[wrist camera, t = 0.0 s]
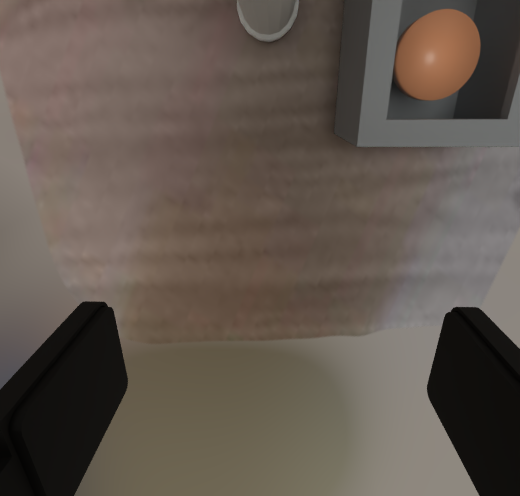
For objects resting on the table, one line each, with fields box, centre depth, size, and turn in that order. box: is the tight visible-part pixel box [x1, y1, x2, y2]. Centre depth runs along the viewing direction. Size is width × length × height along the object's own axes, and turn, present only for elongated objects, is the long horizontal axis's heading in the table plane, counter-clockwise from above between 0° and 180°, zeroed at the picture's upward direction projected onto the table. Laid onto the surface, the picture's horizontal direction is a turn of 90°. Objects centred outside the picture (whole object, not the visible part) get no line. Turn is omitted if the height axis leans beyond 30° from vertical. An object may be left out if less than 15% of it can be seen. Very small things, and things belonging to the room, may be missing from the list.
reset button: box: [392, 9, 480, 100], centre depth 29 cm, size 6×6×3 cm
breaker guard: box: [334, 0, 520, 147], centre depth 29 cm, size 13×13×11 cm
